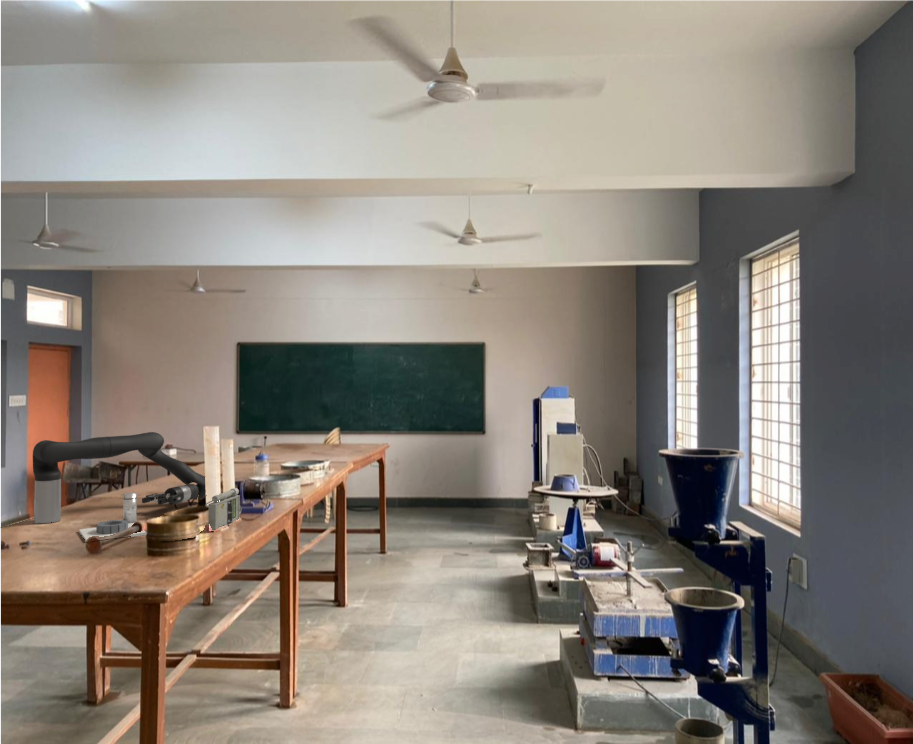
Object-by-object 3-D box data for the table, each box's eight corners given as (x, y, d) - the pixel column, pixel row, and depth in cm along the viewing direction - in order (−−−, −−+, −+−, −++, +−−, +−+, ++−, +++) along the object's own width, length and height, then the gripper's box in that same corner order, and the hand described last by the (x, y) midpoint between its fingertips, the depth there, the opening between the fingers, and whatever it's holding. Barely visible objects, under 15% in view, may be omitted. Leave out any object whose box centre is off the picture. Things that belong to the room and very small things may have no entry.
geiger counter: (218, 496, 258) (248, 485, 282) (202, 495, 259) (234, 485, 283) (217, 532, 258) (247, 518, 282) (202, 531, 259) (233, 517, 283)
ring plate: (86, 542, 241) (86, 531, 241) (78, 531, 257) (79, 521, 257) (146, 535, 253) (146, 524, 253) (135, 525, 269) (135, 515, 269)
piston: (124, 524, 270) (124, 495, 270) (121, 522, 274) (122, 493, 274) (138, 523, 273) (138, 493, 273) (135, 520, 277) (135, 491, 277)
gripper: (165, 485, 301) (137, 491, 286) (190, 487, 297) (164, 493, 281) (165, 502, 301) (137, 509, 286) (190, 504, 297) (164, 511, 281)
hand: (150, 501), depth 284 cm, fingers open, 8 cm apart
